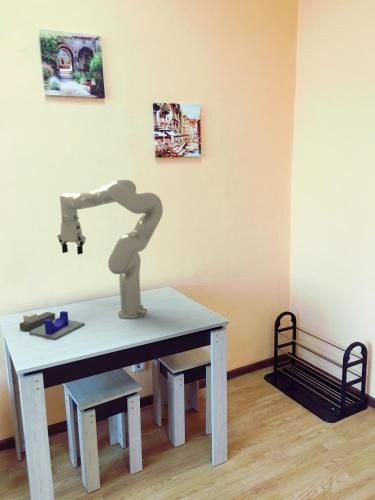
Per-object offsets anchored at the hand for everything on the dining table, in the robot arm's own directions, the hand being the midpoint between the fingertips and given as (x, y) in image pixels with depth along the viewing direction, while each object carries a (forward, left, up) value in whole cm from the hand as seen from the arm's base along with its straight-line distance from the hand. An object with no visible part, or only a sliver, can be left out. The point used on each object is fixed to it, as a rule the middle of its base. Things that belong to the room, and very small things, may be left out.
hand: (72, 253), depth 206 cm
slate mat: (-13, +26, -28) cm, 41 cm away
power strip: (0, +25, -28) cm, 38 cm away
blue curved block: (-13, +28, -28) cm, 41 cm away
